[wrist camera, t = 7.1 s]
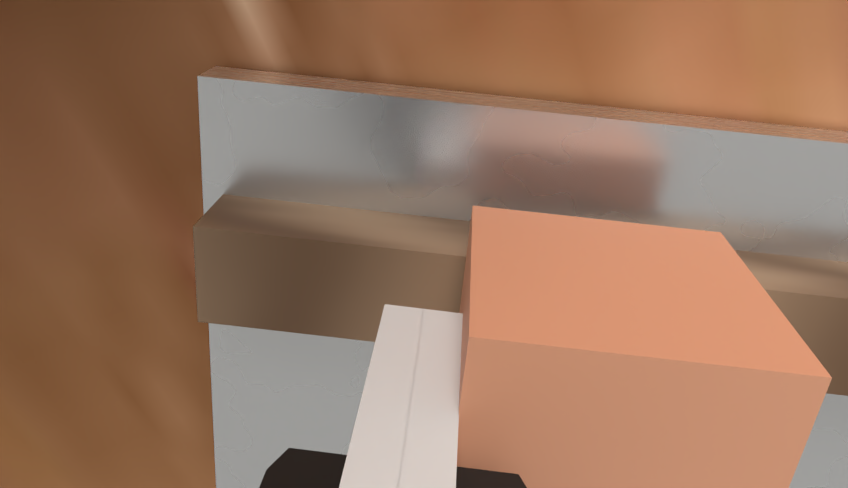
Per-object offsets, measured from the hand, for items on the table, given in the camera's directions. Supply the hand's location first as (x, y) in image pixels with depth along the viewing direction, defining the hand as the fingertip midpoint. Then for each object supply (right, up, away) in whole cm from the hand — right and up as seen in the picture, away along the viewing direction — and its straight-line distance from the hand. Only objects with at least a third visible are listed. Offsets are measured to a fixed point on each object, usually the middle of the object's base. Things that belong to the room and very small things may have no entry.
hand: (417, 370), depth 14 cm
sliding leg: (+3, 0, +4) cm, 5 cm away
